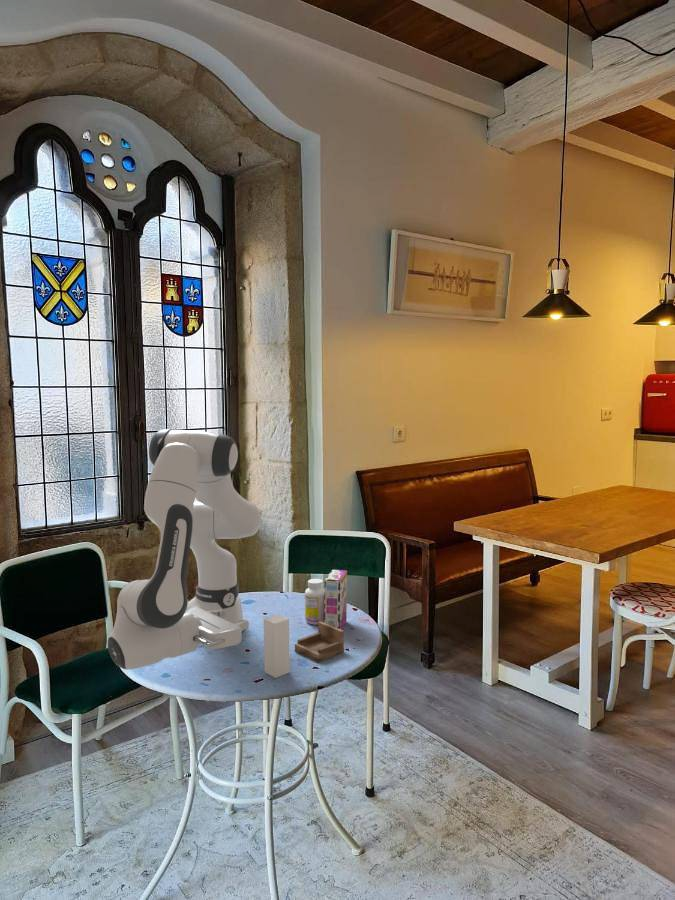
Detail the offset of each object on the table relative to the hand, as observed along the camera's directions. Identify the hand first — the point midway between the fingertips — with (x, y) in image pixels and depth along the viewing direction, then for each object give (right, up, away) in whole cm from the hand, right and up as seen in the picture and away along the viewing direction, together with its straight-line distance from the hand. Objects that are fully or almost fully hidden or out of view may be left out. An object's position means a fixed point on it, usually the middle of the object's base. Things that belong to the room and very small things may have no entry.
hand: (235, 618), depth 151 cm
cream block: (+9, -16, +10) cm, 21 cm away
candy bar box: (+24, -14, +40) cm, 48 cm away
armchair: (+19, -15, +22) cm, 33 cm away
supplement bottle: (+18, -13, +45) cm, 50 cm away
